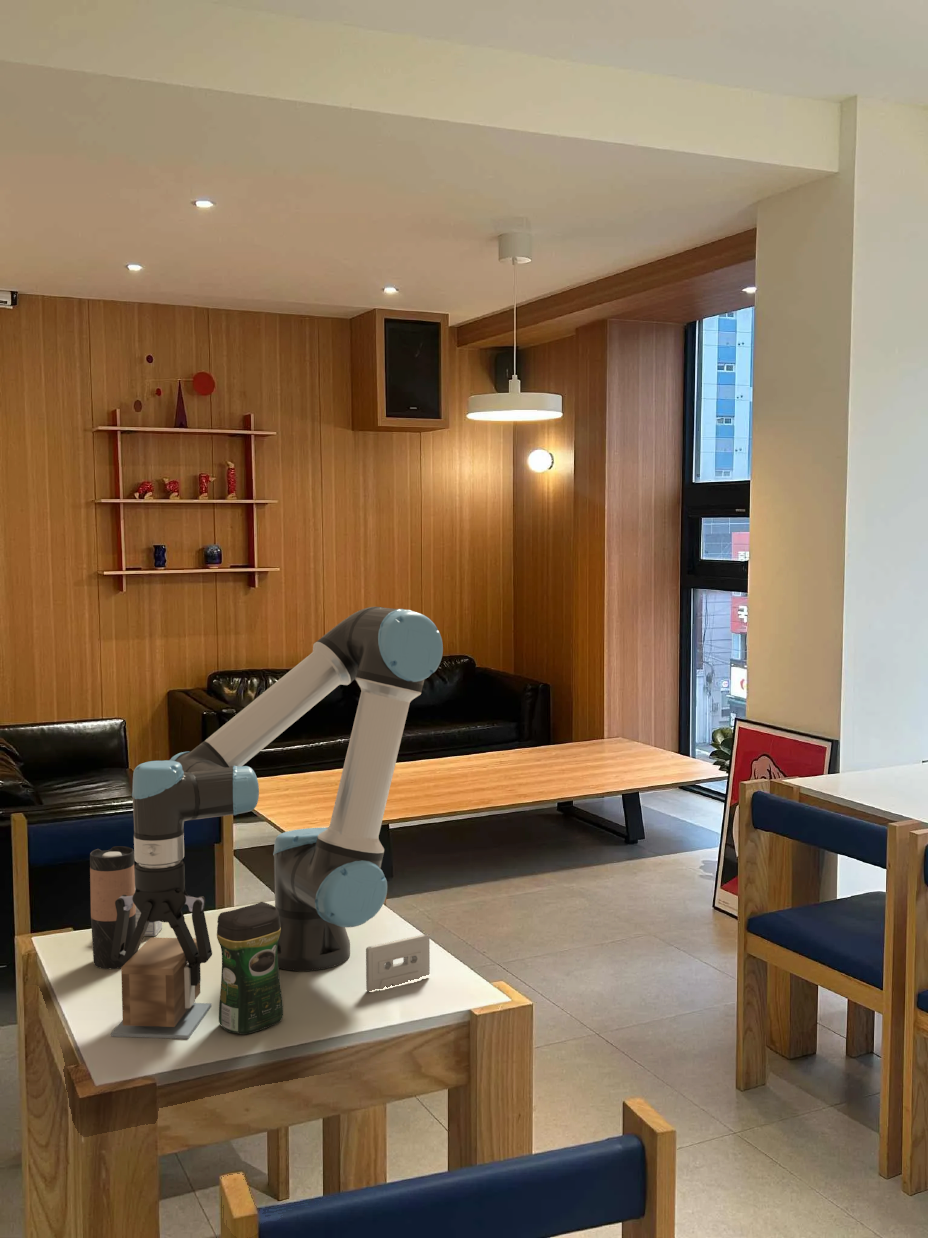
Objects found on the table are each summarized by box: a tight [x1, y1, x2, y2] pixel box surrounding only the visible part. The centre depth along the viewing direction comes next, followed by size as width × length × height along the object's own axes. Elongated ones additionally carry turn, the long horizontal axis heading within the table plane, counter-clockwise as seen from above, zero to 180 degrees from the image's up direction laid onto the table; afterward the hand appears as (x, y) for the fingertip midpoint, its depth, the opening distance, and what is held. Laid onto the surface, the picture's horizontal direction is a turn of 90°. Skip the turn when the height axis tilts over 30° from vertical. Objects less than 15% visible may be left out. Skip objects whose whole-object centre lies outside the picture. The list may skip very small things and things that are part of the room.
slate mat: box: [110, 1002, 212, 1040], centre depth 181 cm, size 12×12×1 cm
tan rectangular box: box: [120, 936, 201, 1027], centre depth 180 cm, size 8×13×9 cm, turn 176°
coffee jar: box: [216, 901, 284, 1035], centre depth 179 cm, size 10×8×19 cm
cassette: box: [365, 933, 431, 992], centre depth 195 cm, size 12×2×8 cm, turn 123°
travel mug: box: [89, 845, 136, 970], centre depth 205 cm, size 8×8×20 cm
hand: (162, 1004), depth 181 cm, fingers closed on tan rectangular box, 8 cm apart
